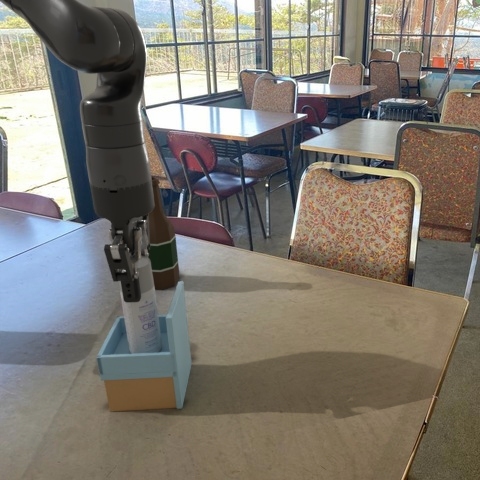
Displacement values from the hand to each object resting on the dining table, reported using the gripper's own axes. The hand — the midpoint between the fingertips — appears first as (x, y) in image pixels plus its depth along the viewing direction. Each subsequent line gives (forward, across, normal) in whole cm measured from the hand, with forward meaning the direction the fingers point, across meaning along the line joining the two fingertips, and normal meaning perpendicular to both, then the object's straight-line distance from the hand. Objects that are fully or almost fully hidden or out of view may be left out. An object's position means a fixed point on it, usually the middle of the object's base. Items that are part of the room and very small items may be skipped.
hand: (137, 291), depth 69 cm
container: (+11, 0, 0) cm, 11 cm away
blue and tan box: (+17, 0, 0) cm, 17 cm away
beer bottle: (+18, -35, -5) cm, 39 cm away
